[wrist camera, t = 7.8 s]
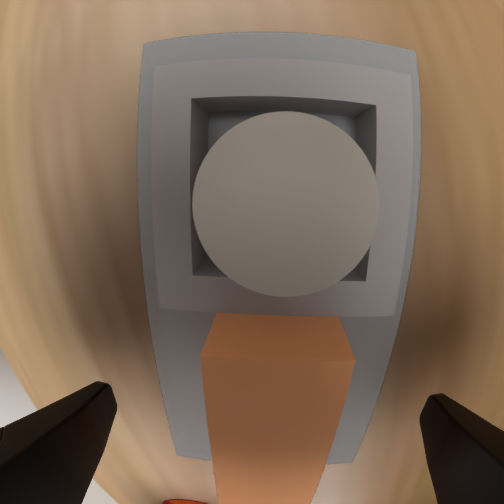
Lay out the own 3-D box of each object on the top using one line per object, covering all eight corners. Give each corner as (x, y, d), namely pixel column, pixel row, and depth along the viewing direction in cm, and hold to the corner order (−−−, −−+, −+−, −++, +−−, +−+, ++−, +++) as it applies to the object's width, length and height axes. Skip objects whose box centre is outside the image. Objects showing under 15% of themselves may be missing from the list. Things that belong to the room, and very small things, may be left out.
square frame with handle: (335, 443, 12) (346, 513, 8) (198, 438, 12) (179, 506, 8) (385, 91, 8) (448, 52, 4) (178, 84, 8) (119, 39, 4)
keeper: (408, 56, 8) (500, -9, 2) (351, 454, 13) (366, 541, 7) (150, 48, 8) (57, -23, 3) (179, 447, 13) (151, 532, 8)
